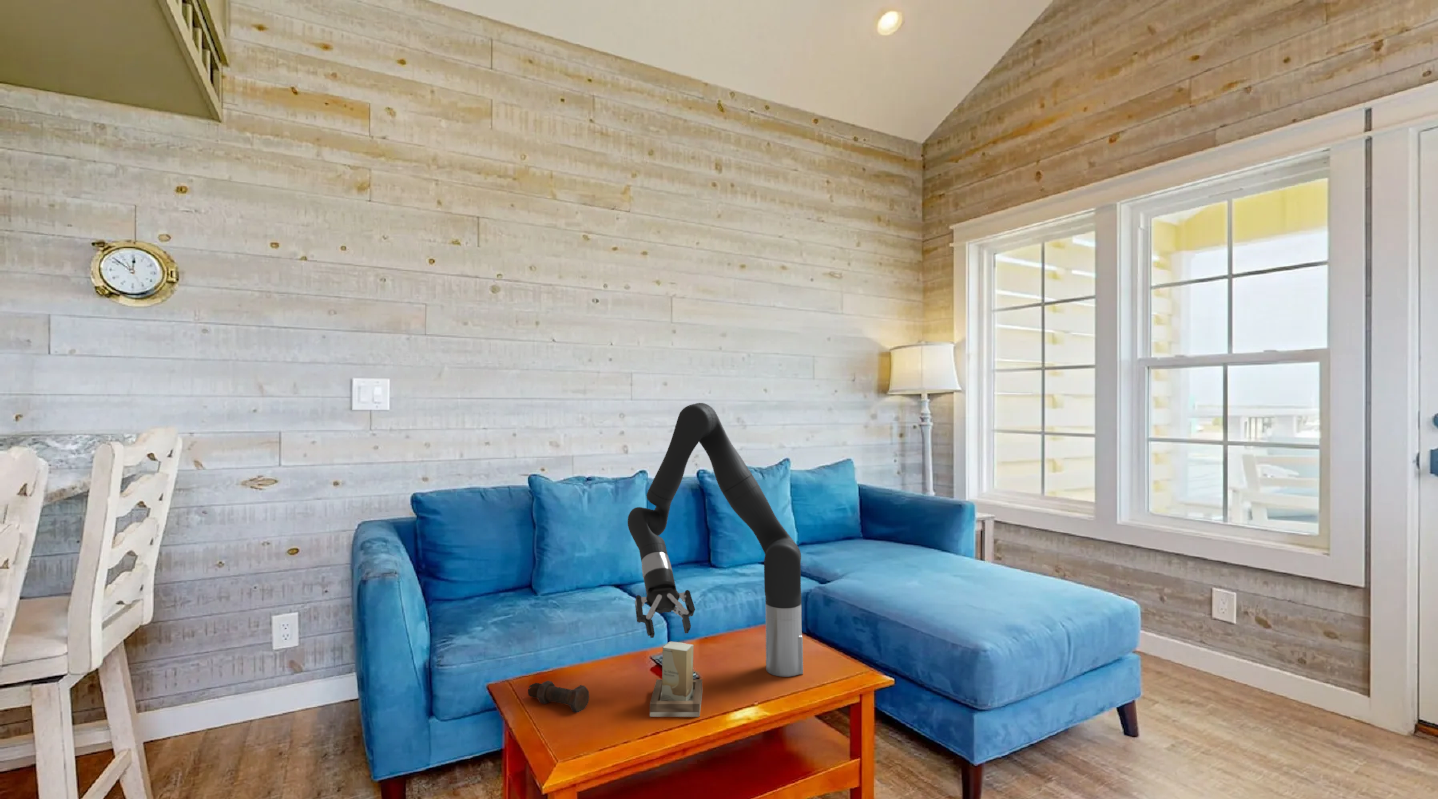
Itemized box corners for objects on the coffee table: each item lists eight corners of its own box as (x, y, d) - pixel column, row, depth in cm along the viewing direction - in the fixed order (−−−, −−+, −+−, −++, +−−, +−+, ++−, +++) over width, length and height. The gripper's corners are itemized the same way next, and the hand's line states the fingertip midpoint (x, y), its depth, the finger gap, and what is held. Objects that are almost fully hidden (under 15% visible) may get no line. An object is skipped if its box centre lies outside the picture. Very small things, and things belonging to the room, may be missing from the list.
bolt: (534, 704, 157) (584, 715, 150) (520, 701, 153) (571, 712, 146) (542, 678, 159) (592, 687, 152) (528, 674, 155) (579, 684, 149)
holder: (702, 691, 158) (702, 679, 158) (699, 716, 145) (699, 703, 145) (656, 691, 159) (656, 679, 159) (649, 716, 146) (649, 703, 146)
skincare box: (661, 700, 151) (660, 647, 151) (669, 692, 155) (668, 640, 156) (687, 704, 149) (686, 650, 149) (694, 696, 153) (693, 643, 153)
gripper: (632, 569, 164) (643, 630, 153) (687, 564, 169) (701, 622, 158) (628, 585, 169) (638, 645, 158) (682, 579, 174) (695, 637, 163)
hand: (670, 634), depth 158 cm, fingers open, 8 cm apart
